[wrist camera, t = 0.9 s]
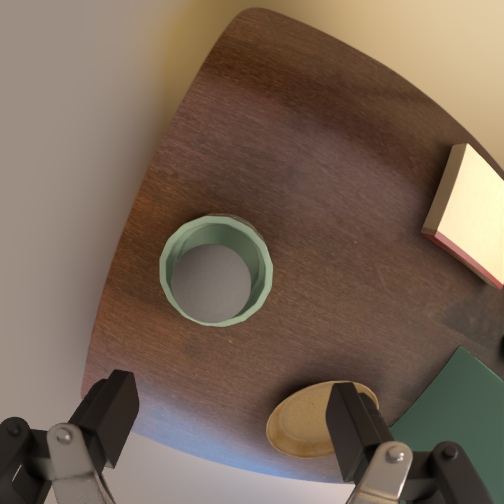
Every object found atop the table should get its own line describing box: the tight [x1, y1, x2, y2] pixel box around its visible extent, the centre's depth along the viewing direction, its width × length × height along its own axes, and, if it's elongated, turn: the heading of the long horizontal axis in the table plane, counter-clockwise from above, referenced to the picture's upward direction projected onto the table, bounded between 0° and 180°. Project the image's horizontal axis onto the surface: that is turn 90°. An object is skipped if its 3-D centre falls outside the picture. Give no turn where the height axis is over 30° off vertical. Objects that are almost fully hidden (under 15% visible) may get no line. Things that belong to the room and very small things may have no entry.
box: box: [389, 345, 504, 504], centre depth 22 cm, size 23×21×26 cm
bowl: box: [160, 213, 273, 327], centre depth 27 cm, size 10×10×5 cm
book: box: [420, 143, 504, 290], centre depth 27 cm, size 16×12×3 cm
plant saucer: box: [266, 380, 379, 459], centre depth 32 cm, size 15×15×3 cm
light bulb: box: [171, 244, 251, 323], centre depth 24 cm, size 6×6×10 cm
